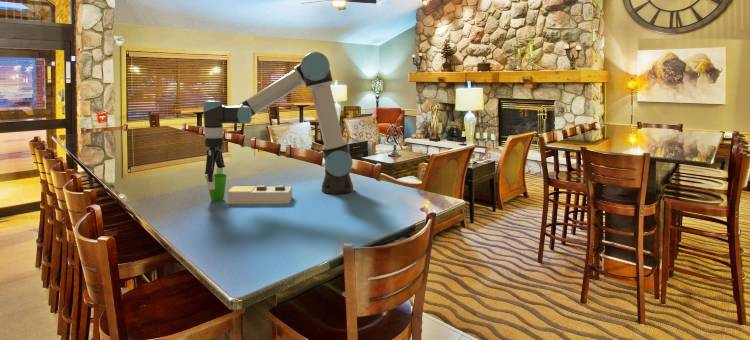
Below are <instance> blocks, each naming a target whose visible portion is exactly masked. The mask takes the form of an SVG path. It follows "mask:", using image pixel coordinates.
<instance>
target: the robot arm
mask: <svg viewBox="0 0 750 340" xmlns="http://www.w3.org/2000/svg"><path fill="white" fill-rule="evenodd" d="M330 65H331V64H330V62H329V59H328V57H327V56H326V55H325V54H323V53H322V52H319V51H311V52H308V53H307V54H305V55H304V56H303V58H302V60H301V61H300V63H299V64H297V65H296V66H294V68H293V70H292V71H289V73H287V74H285V75H284V76H281V78H279V79H278V80H275V81H274V82H272V83H271V84H269V85H268V86H266V87H265V88H263V89H261V90H260V91H258V92H256V93H255V94H253V95H252V96H250V97H248V98H247V99H245V100H243V101H242V102H240V103H239V104H236V105H223V102H222V101H221V100H205V101H204V102H203V110H202V112H203V128H204V129H203V130H202V131H203V132H204V146H205V147H206V148H209V150H208V149H207V150H206V163H205V170H204V171H205V172H204V174H205V175H207V179H206V181H207V180H208V183H207V190H209V189H215V179H214V174H215V173H214V171H215V170H216V174H224V168H226V165H225V162H224V161H225V160H224V156H223V150H222V147H223V146H224V138H223V136H224V128H223V127H224V125H223V124H237V125H238V124H240V125H243V124H245V125H247V124H251V122H252V117H253V116H254V115H256V114H258V113H260V112H261V111H263V110H265V108H268V107H269V106H271V105H273V104H275V103H276V102H277V101H279V100H281V99H283V97H284V98H285V96H287V95H289V94H290V93H292V92H294V91H295V90H297V89H298V88H300V87H302V86H305V87H306V88H307V89H308V90H310V93H311V96H312V100H313V105H314V109H315V113H316V116H317V121H318V124H319V129H320V132H321V137H322V141H323V145H322V147H321V152H322V155H323V160H324V177H323V181H322V184H321V192H322V193H325V194H330V195H341V194H342V195H345V194H349V193H352V192H353V191H354V184H353V181H352V178H351V173H350V171H351V170H352V168H353V164H354V163H353V159H352V156H351V153H350V150H351V148H350V144H349V143H348V141H346V140H344V137H343V134H342V130H341V125H340V120H339V116H338V112H337V109H336V105H335V101H334V96H333V93H332V92H333V91H332V87H331V85H332V83H333V82H334V81H333V76H332V72H331V68H330V67H331V66H330ZM215 166H216V167H215Z"/></svg>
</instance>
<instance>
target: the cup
mask: <svg viewBox="0 0 750 340" xmlns="http://www.w3.org/2000/svg"><path fill="white" fill-rule="evenodd" d="M213 174H214V179H215V189H208V191H209V195H210V200H211V202H215V203H216V202H223V201H224V199H225V191H226V190H225V189H226V182H227V176H228V175H227V174H225V173H223V174H217V173H213ZM204 178H206V182H207V184H208V180H207V174H205V177H204Z"/></svg>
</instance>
